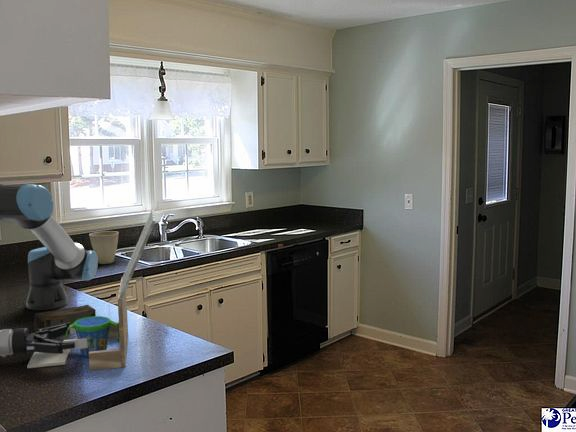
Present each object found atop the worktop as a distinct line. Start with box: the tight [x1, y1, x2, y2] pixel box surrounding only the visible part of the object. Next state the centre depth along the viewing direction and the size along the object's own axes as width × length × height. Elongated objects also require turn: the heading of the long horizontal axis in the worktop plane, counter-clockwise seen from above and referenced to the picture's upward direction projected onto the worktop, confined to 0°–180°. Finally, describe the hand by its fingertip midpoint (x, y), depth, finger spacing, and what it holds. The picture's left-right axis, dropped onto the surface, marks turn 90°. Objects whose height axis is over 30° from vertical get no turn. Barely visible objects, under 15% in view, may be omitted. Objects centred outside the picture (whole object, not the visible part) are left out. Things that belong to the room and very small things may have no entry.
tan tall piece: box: [88, 209, 156, 371], centre depth 170 cm, size 27×20×42 cm
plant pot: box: [89, 230, 119, 265], centre depth 299 cm, size 15×15×16 cm
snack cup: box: [64, 315, 120, 358], centre depth 170 cm, size 16×10×10 cm
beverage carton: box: [33, 304, 97, 330], centre depth 194 cm, size 8×19×7 cm, turn 129°
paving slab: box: [26, 349, 71, 369], centre depth 168 cm, size 14×10×1 cm
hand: (89, 335), depth 169 cm, fingers open, 13 cm apart
